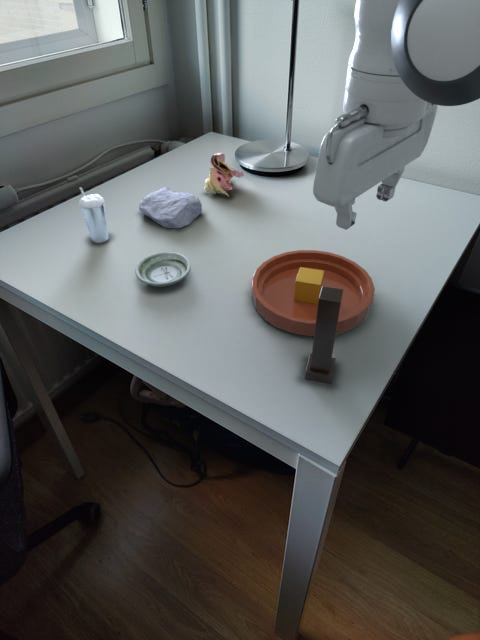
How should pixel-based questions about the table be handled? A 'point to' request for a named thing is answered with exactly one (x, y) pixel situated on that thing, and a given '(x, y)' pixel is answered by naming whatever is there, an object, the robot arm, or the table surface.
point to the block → (308, 285)
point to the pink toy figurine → (220, 175)
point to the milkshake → (94, 216)
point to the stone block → (171, 208)
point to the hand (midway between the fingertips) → (365, 211)
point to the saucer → (163, 269)
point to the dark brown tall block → (324, 336)
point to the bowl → (300, 317)
